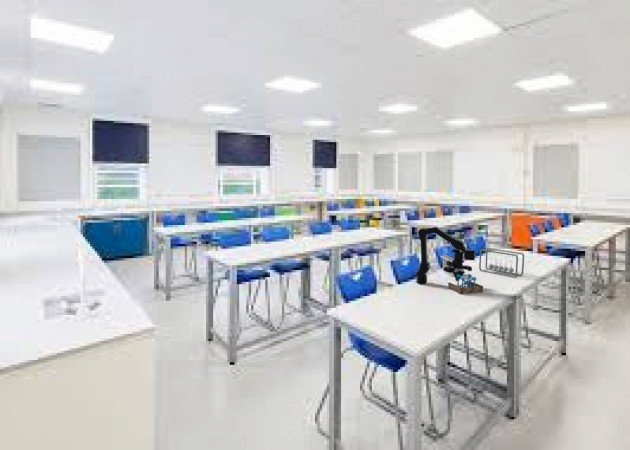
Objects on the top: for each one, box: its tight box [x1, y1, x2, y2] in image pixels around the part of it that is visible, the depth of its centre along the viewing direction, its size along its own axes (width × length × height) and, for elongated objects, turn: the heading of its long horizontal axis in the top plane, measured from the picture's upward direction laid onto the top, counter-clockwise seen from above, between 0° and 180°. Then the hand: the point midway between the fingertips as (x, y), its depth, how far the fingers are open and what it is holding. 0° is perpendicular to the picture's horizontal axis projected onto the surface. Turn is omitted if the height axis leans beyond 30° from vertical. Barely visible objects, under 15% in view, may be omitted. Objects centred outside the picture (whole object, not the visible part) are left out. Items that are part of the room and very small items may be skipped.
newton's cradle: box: [478, 247, 525, 279], centre depth 292 cm, size 30×10×18 cm, turn 36°
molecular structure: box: [456, 273, 477, 288], centre depth 250 cm, size 10×10×10 cm
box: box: [447, 280, 484, 295], centre depth 250 cm, size 16×14×4 cm
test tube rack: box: [439, 253, 455, 278], centre depth 297 cm, size 25×4×13 cm, turn 1°
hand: (457, 281), depth 258 cm, fingers closed
